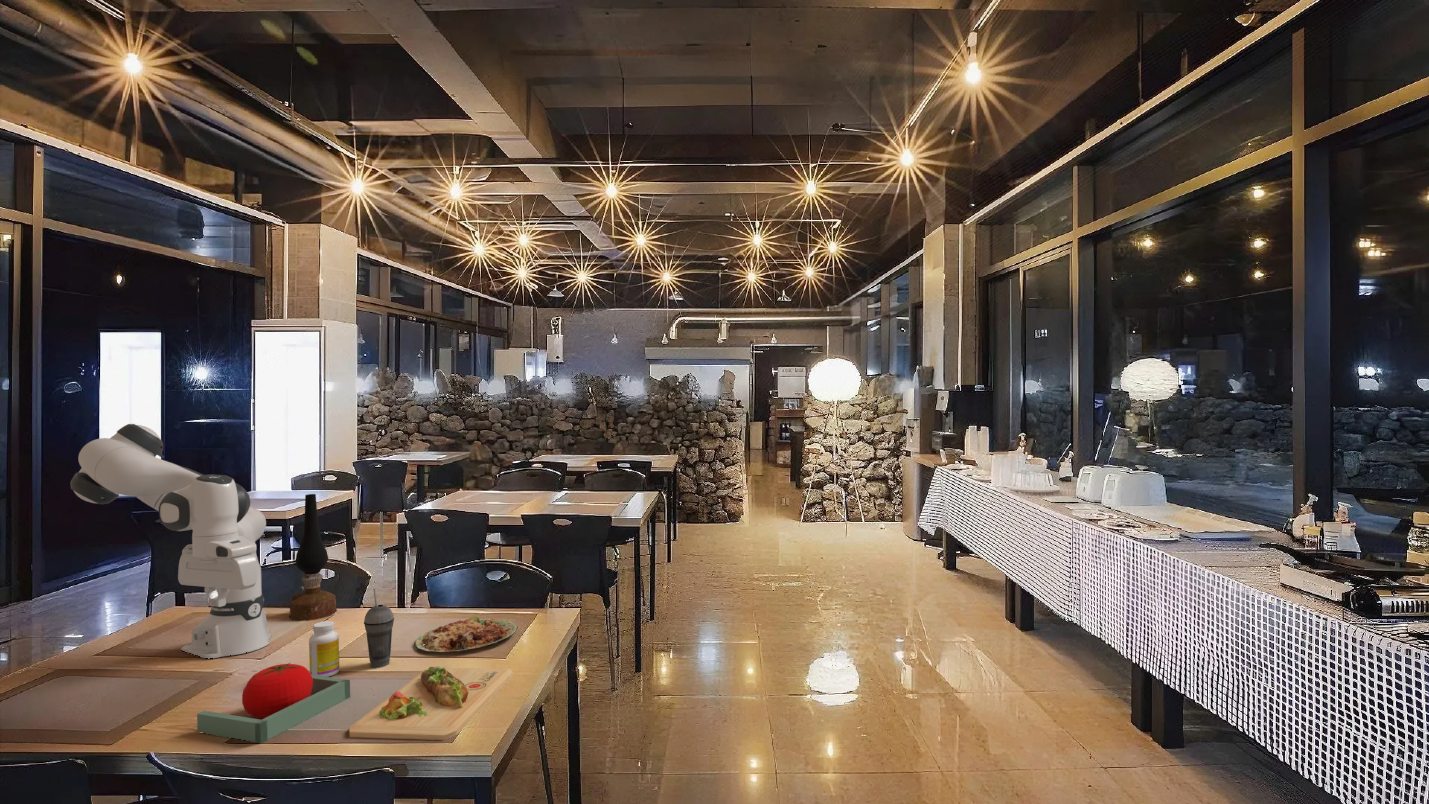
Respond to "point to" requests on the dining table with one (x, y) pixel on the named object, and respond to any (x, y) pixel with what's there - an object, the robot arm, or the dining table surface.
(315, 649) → the supplement bottle
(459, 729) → the cutting board
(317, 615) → the oil lamp
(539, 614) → the dining table surface
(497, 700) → the dining table surface
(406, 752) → the dining table surface
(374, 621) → the beverage cup
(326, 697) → the corral
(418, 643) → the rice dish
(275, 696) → the tomato
